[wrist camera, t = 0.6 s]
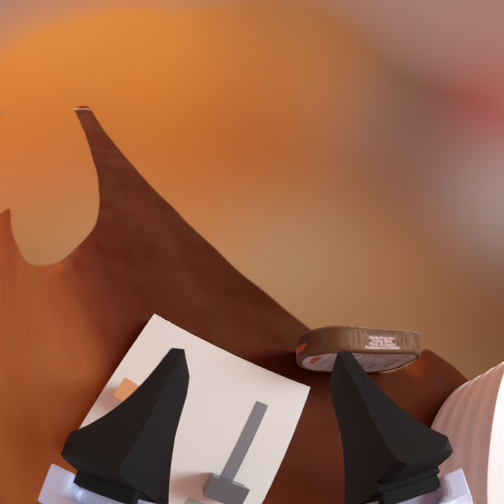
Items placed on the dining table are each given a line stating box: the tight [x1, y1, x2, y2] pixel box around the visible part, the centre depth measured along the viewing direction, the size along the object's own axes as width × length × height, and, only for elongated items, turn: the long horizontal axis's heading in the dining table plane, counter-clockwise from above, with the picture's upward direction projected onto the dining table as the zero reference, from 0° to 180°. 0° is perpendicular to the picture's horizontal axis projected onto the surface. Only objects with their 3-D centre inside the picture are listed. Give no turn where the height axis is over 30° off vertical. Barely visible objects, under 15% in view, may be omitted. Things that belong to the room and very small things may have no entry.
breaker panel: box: [79, 314, 310, 504], centre depth 22 cm, size 18×18×2 cm
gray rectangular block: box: [202, 472, 250, 504], centre depth 16 cm, size 2×3×4 cm, turn 67°
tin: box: [296, 325, 421, 373], centre depth 27 cm, size 15×3×8 cm, turn 85°
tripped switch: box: [113, 377, 139, 402], centre depth 20 cm, size 2×3×4 cm, turn 67°
